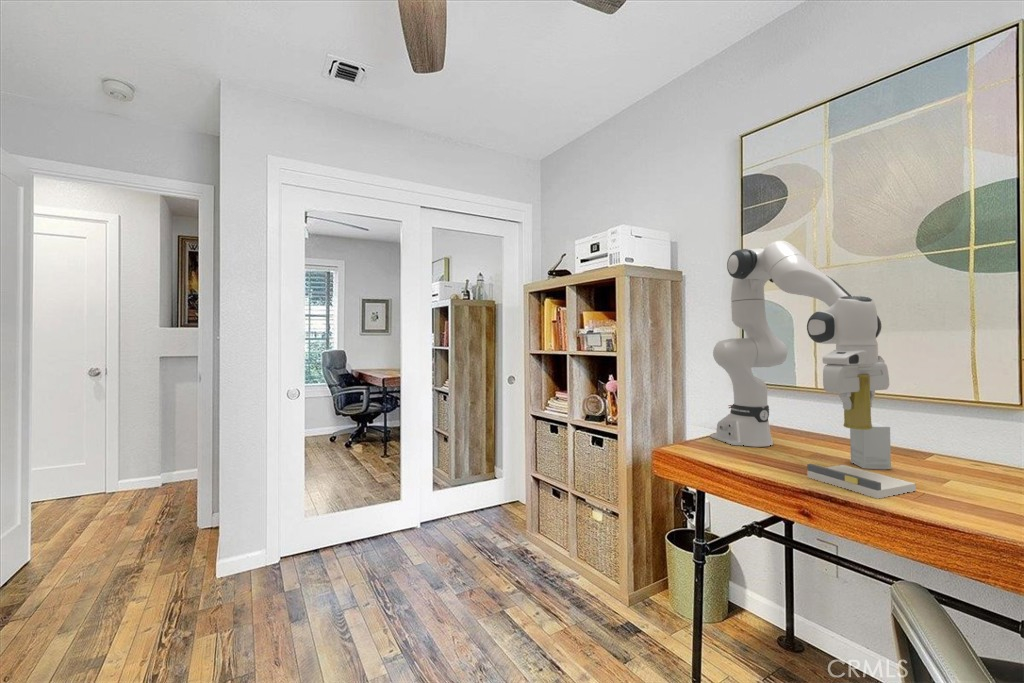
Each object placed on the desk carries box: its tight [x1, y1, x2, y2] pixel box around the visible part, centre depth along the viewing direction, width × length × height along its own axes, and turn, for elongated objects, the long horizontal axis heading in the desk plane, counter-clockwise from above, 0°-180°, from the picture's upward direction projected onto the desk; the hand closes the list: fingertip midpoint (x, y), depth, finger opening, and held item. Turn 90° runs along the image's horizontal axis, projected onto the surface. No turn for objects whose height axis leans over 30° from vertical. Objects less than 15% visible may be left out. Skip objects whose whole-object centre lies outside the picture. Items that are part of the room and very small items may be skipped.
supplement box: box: [849, 422, 892, 470], centre depth 135 cm, size 7×7×13 cm
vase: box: [843, 374, 873, 430], centre depth 119 cm, size 6×6×14 cm
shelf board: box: [806, 463, 917, 500], centre depth 119 cm, size 18×14×4 cm
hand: (857, 408), depth 119 cm, fingers closed on vase, 5 cm apart
